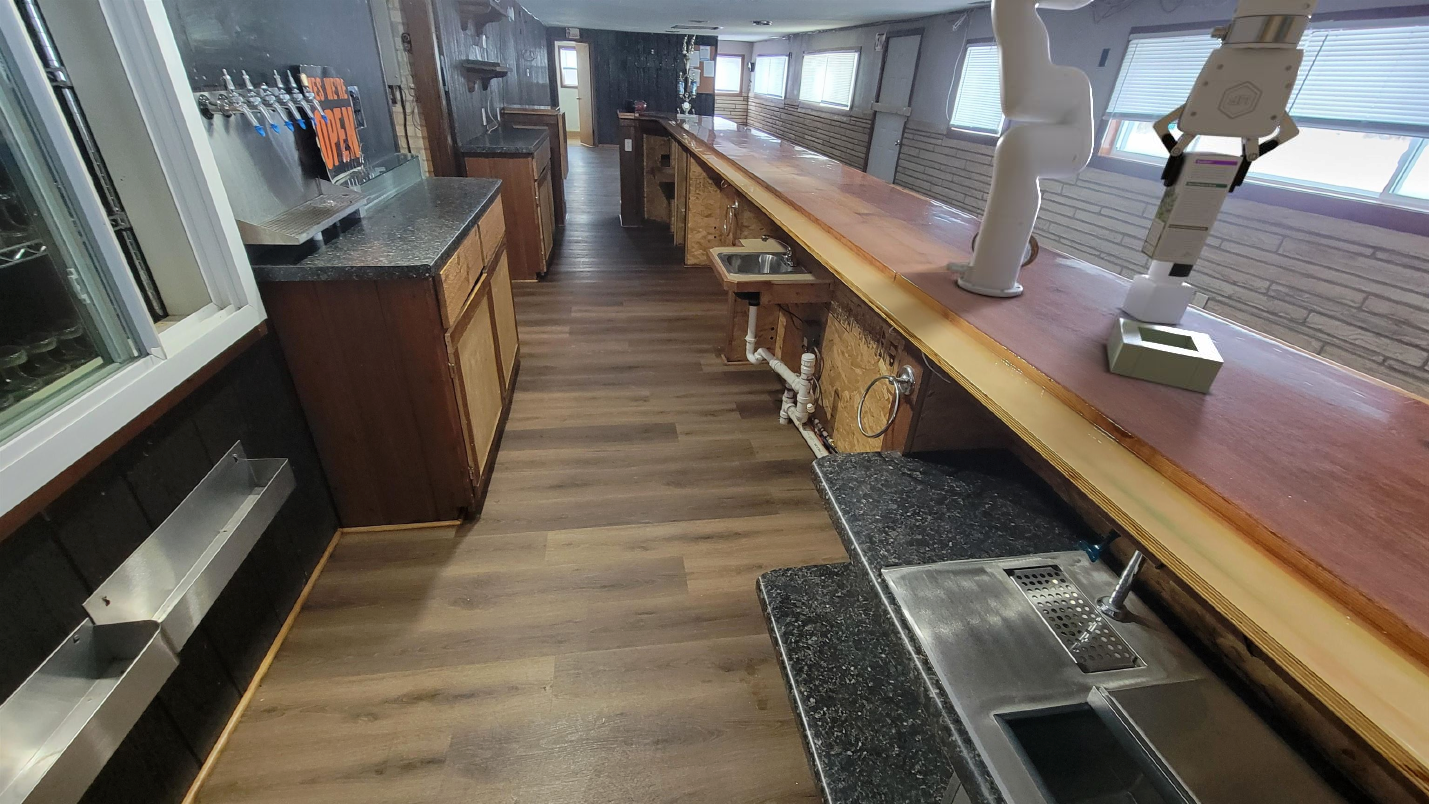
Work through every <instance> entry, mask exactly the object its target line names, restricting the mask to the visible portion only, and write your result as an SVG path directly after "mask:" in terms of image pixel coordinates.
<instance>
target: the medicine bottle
mask: <svg viewBox="0 0 1429 804" xmlns="http://www.w3.org/2000/svg"><path fill="white" fill-rule="evenodd" d="M1194 266H1195V265H1191V264H1179V263H1170V262H1162V261H1156V260H1152V263H1151V264H1150V267H1149V269H1148V272H1147V274H1135V275H1134V277H1133V279H1132V282H1131V284H1130V286H1129V288H1128V291H1127V293H1126V296H1125V298H1124V300H1123V303H1122V305H1121V308H1120V309H1121V310H1122V311H1124V312H1125V313H1127V314H1128V315H1129V316H1131V317H1132V318H1134V319H1135V320H1137V321H1138V322H1142V323H1152V324H1153V323H1155V324H1169V325H1179V324H1180V323H1181V321H1182V319H1183V317H1184V315H1185V313H1186V310H1187V309H1188V306H1189V305H1190V302H1191V300H1192V298H1193V296H1194V294H1195V291H1196V287H1195V286H1192V285H1190V284H1188V283H1186V281H1187V280H1188V278H1189V276H1190V274H1191V272H1192V269H1193V268H1194Z"/></svg>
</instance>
